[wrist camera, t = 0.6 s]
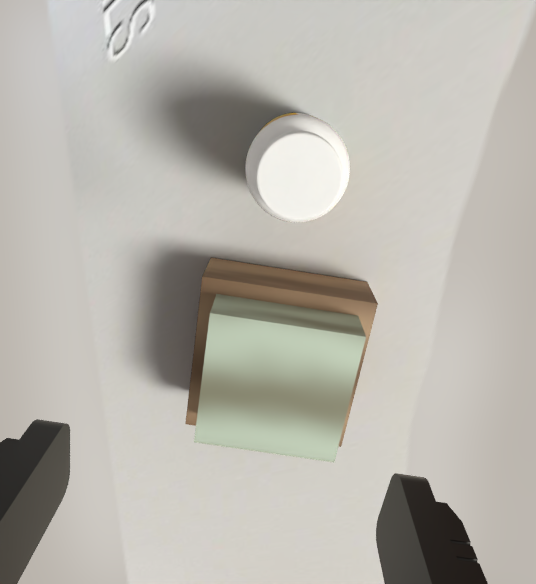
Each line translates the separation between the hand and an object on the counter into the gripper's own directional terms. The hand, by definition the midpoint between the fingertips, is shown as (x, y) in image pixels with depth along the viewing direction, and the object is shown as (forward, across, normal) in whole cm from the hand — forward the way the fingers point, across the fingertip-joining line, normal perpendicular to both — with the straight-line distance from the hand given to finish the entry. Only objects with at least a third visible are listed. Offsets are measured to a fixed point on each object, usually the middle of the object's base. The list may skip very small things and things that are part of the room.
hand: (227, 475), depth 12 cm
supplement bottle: (+23, -1, -5) cm, 24 cm away
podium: (+22, -2, +8) cm, 24 cm away
